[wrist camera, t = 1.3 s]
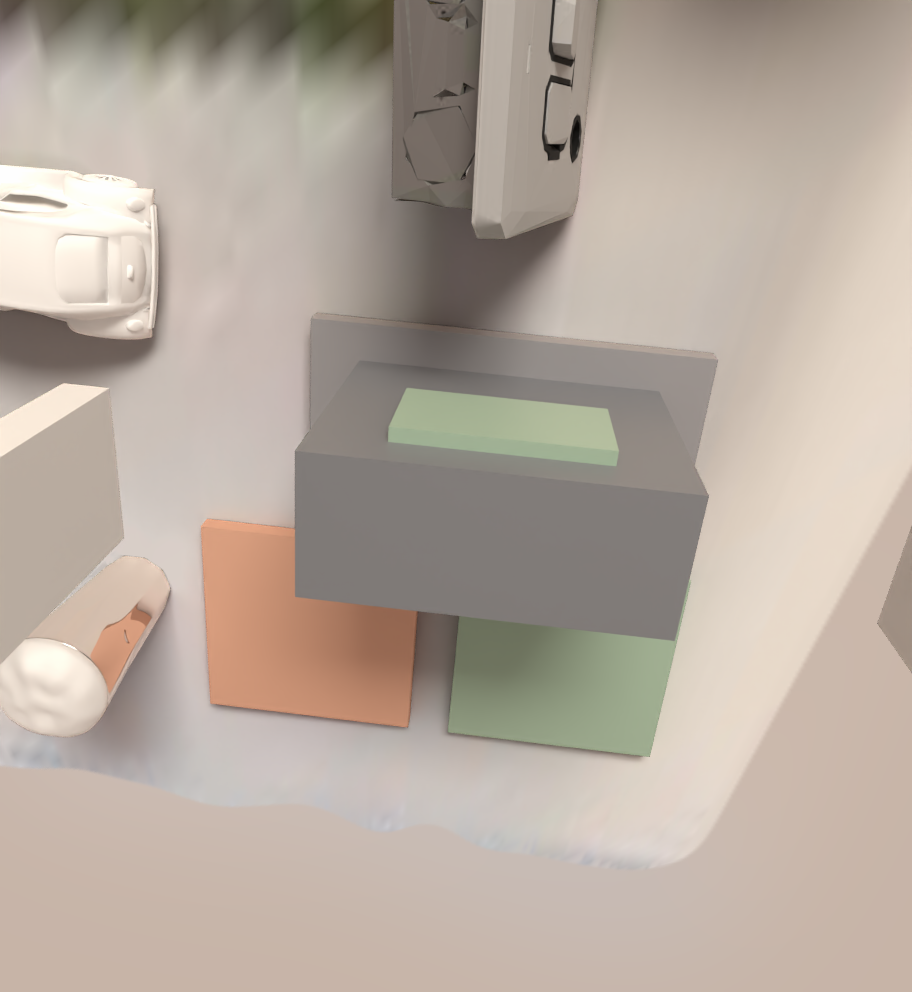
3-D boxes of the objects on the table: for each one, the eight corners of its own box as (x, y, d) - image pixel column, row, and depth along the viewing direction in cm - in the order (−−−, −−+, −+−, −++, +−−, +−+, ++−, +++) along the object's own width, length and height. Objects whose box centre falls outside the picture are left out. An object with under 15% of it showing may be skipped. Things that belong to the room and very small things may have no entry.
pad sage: (449, 721, 41) (447, 732, 41) (466, 547, 37) (465, 556, 37) (647, 745, 41) (649, 757, 40) (687, 572, 37) (690, 582, 36)
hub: (314, 491, 37) (234, 629, 27) (316, 312, 33) (226, 394, 23) (673, 531, 36) (728, 687, 26) (713, 353, 33) (793, 454, 23)
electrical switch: (576, 216, 31) (561, 248, 23) (442, 207, 32) (380, 235, 23) (606, -81, 27) (602, -175, 19) (453, -84, 28) (383, -174, 20)
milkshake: (69, 536, 39) (-72, 663, 30) (180, 546, 39) (72, 678, 29) (82, 618, 41) (-47, 760, 32) (187, 628, 40) (88, 775, 31)
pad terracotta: (215, 693, 42) (210, 703, 41) (207, 518, 38) (200, 526, 37) (409, 717, 42) (407, 727, 41) (422, 543, 37) (420, 551, 37)
